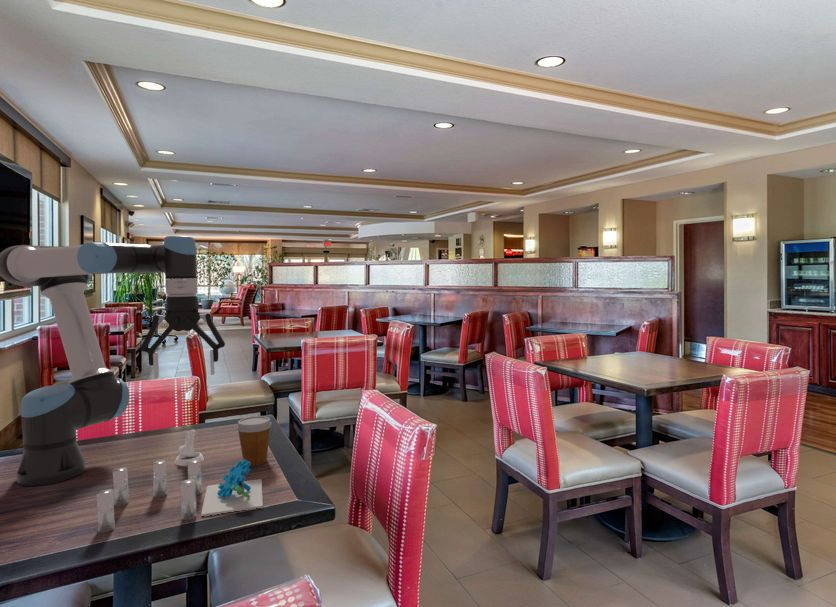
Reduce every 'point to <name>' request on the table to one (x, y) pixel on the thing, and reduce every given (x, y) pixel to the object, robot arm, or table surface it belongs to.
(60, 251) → the robot arm
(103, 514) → the spacer posts
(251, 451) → the disposable coffee cup
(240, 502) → the rubber mat
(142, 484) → the table surface
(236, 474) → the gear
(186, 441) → the hook
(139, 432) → the table surface
